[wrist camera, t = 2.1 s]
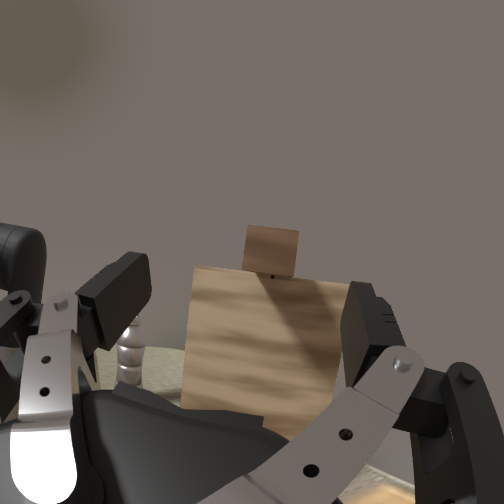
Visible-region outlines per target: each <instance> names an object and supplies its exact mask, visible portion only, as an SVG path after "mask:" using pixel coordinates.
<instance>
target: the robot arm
mask: <svg viewBox="0 0 504 504" xmlns="http://www.w3.org/2000/svg"><path fill="white" fill-rule="evenodd" d="M46 255H47V254H46V243H45V239H44V237H43V235H42V233H41V232H39V231H38V230H36V229H33V228H27V227H22V226H17V225H11V224H5V223H0V289H2V290H6V291H8V295H7V296H6V297H5V298H4V299H2V300H1V301H0V504H343V503H342V502H341V501H340V500H339V498H338V496H339V495H340V494H341V493H342V491H343V490H344V489H345V488H346V487H347V486H348V485H349V484H350V482H351V481H352V480H353V479H354V478H355V476H356V475H357V474H358V473H359V472H360V470H361V469H362V468H363V467H364V465H365V464H366V463H367V461H368V460H369V459H370V458H371V456H372V455H373V454H374V452H375V451H376V449H377V448H378V446H379V445H380V444H381V443H382V441H383V440H384V438H385V437H386V435H387V434H388V432H389V431H390V429H391V428H395V429H398V430H402V431H407V432H410V439H411V447H412V457H413V468H414V481H415V504H504V435H503V432H502V429H501V425H500V422H499V420H498V417H497V414H496V411H495V408H494V405H493V403H492V400H491V397H490V395H489V392H488V390H487V387H486V385H485V382H484V380H483V377H482V375H481V374H480V372H479V371H478V370H477V369H476V368H474V367H473V366H472V365H470V364H467V363H464V362H456V363H454V364H452V365H451V366H450V367H449V369H448V370H447V372H446V373H444V372H440V371H436V370H432V369H429V368H426V367H425V366H424V362H423V360H422V358H421V357H420V355H419V354H418V353H416V352H415V351H414V350H412V349H410V348H407V347H406V345H405V342H404V340H403V337H402V334H401V331H400V329H399V326H398V324H397V321H396V319H395V316H394V313H393V311H392V308H391V306H390V305H389V304H388V303H387V302H386V301H385V300H384V299H383V298H382V297H376V295H375V292H374V290H373V287H372V284H371V283H365V282H356V281H352V282H351V283H350V285H349V289H348V293H347V297H346V301H345V304H344V308H343V312H342V316H341V321H340V335H341V343H342V352H343V361H344V370H345V379H346V388H345V389H344V390H343V391H342V392H341V393H340V395H339V396H338V397H337V398H336V399H335V400H334V401H333V402H332V403H331V404H330V405H329V406H328V407H327V408H326V409H325V410H324V411H323V412H322V413H321V414H320V415H319V416H317V417H316V418H315V419H314V420H313V421H312V422H311V423H310V424H309V425H308V426H307V427H306V428H305V429H303V430H302V431H301V432H300V433H299V434H298V435H297V436H296V437H295V438H293V439H292V440H291V441H289V440H288V439H286V438H285V437H283V436H281V435H280V434H278V433H276V432H274V431H272V430H269V429H267V428H264V427H262V426H263V420H264V416H258V415H252V414H245V413H239V412H234V411H228V410H195V409H183V408H180V407H178V406H176V405H174V404H172V403H170V402H168V401H167V400H165V399H163V398H161V397H159V396H158V395H156V394H154V393H152V392H151V391H148V390H145V389H142V388H139V387H135V386H132V385H129V384H127V383H124V382H121V381H119V382H118V383H117V385H116V387H115V388H114V390H101V387H100V380H99V372H98V364H97V356H96V353H95V350H96V349H97V347H98V348H101V349H104V350H107V351H110V350H111V348H112V347H113V346H114V344H115V343H116V342H117V340H118V339H119V338H120V337H121V335H122V334H123V333H124V331H125V330H126V329H127V328H128V326H129V325H130V324H131V323H132V321H133V320H134V319H135V318H136V316H137V315H138V314H139V312H140V311H141V310H142V309H143V308H144V306H145V305H146V304H147V303H148V301H149V299H150V297H151V292H152V286H151V278H150V270H149V261H148V257H147V255H146V254H143V253H137V252H127V253H126V254H125V255H123V256H122V257H121V258H120V259H119V260H117V261H116V262H114V263H112V264H110V265H107V266H106V267H105V268H104V269H102V270H101V271H100V272H99V273H97V274H96V275H95V276H94V277H93V278H91V279H90V280H89V281H88V282H87V283H85V284H84V285H83V286H82V287H81V288H80V289H78V290H77V291H76V292H75V293H71V292H61V293H57V294H54V295H52V296H51V297H49V298H48V299H47V300H46V301H45V302H44V304H41V299H42V290H43V283H44V276H45V268H46V257H47V256H46ZM450 428H451V430H450ZM451 432H452V434H451ZM452 437H453V439H452Z"/></svg>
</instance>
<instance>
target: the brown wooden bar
mask: <svg viewBox="0 0 504 504" xmlns="http://www.w3.org/2000/svg"><path fill="white" fill-rule="evenodd" d="M298 234H299V231H295V230H287V229H278V228H270V227H262V226H253V225H248V227H247V235H246V242H245V249H244V256H243V264H242V270H246V271H250V272H254V273H261V274H268V275H273V276H275V275H276V276H284V277H293V275H294V267H295V260H296V252H297V243H298Z"/></svg>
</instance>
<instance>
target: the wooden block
mask: <svg viewBox="0 0 504 504" xmlns="http://www.w3.org/2000/svg"><path fill="white" fill-rule="evenodd" d="M349 285H350V284H340V283H332V282H324V281H315V280H308V279H300V278H292V277H284V276H276V275H275V276H273V275H268V274H261V273H253V272H246V271H238V270H231V269H224V268H216V267H209V266H202V265H195V270H194V277H193V285H192V292H191V300H190V309H189V318H188V326H187V336H186V345H185V355H184V366H183V378H182V390H181V404H180V408H183V409H195V410H228V411H234V412H239V413H245V414H252V415H258V416H264V420H263V426H262V427H264V428H267V429H269V430H272V431H274V432H276V433H278V434H280V435H281V436H283V437H285V438H286V439H288V440H289V441H291V440H292V439H293V438H295V437H296V436H297V435H298V434H299V433H300V432H301V431H302V430H303V429H305V428H306V427H307V426H308V425H309V424H310V423H311V422H312V421H313V420H314V419H315V418H316V417H317V416H319V415H320V414H321V413H322V412H323V411H324V410H325V409H326V408H327V407H328V406H329V405H330V404H331V400H332V396H333V391H334V387H335V382H336V377H337V373H338V368H339V363H340V358H341V352H342V343H341V335H340V321H341V316H342V312H343V308H344V304H345V301H346V297H347V293H348V289H349Z"/></svg>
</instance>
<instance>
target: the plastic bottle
mask: <svg viewBox="0 0 504 504" xmlns="http://www.w3.org/2000/svg"><path fill="white" fill-rule="evenodd" d="M140 325H141V316H140V315H137V316H136V318H135V319H134V320H133V321H132V323H131V324H130V325H129V326H128V328H127V329H126V330H125V331H124V333H123V334H122V335H121V337H120V338H119V339H118V340H117V343H116V345H117V361H118V362H117V366H118V367H117V375H116V381H115V386H114V388H115V387H116V385H117V383H118V382H119V381H121V382H124V383H127V384H129V385H132V386H135V387H139V388H142V389H143V384H142V362H143V355H144V351H145V346H146V338H145V335H144V333H143V332H142V330H141V328H140Z"/></svg>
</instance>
